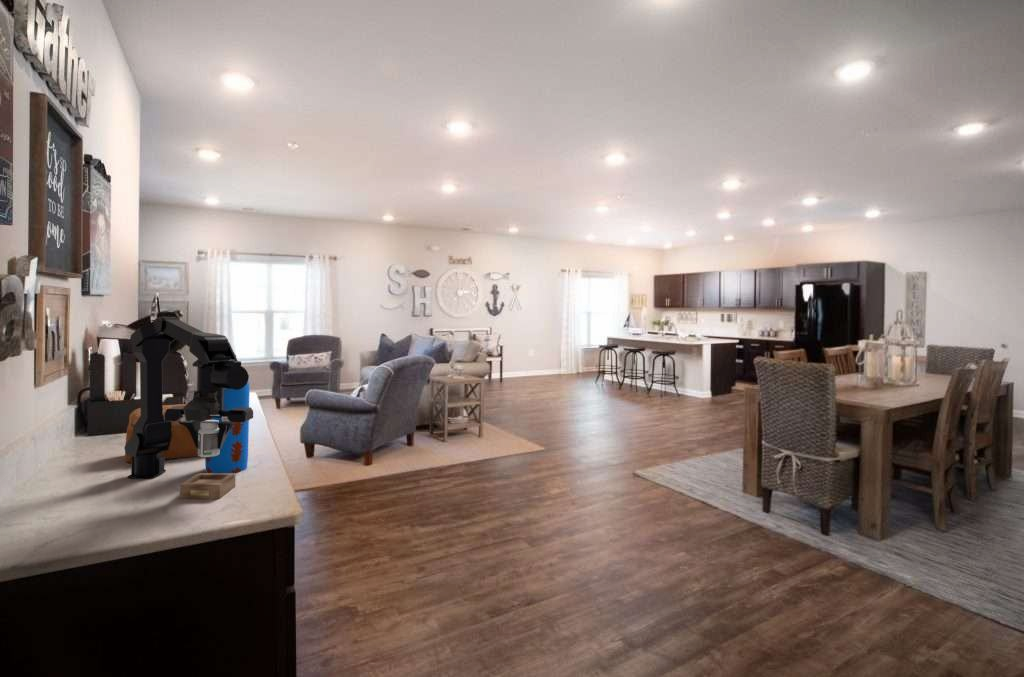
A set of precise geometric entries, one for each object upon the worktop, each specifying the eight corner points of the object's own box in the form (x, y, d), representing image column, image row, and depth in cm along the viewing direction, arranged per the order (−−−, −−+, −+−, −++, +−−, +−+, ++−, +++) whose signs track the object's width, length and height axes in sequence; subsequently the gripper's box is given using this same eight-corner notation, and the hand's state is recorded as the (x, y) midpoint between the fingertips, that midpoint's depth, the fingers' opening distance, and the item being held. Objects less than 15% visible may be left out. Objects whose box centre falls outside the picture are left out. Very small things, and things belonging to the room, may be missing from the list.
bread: (228, 454, 163) (229, 405, 162) (124, 465, 147) (125, 411, 146) (221, 444, 174) (222, 398, 173) (124, 454, 158) (125, 404, 158)
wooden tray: (179, 499, 123) (179, 484, 123) (198, 486, 132) (198, 473, 132) (219, 499, 124) (219, 484, 124) (235, 486, 133) (235, 473, 133)
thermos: (217, 477, 140) (219, 386, 139) (197, 469, 145) (198, 382, 145) (255, 468, 149) (257, 382, 148) (235, 461, 155) (236, 379, 154)
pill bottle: (224, 453, 129) (225, 420, 129) (208, 458, 125) (209, 424, 124) (208, 451, 130) (209, 418, 130) (192, 456, 126) (193, 422, 125)
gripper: (150, 389, 118) (149, 456, 118) (236, 391, 120) (234, 457, 121) (176, 383, 129) (175, 444, 129) (254, 385, 131) (253, 445, 132)
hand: (209, 448), depth 127 cm, fingers closed on pill bottle, 5 cm apart
